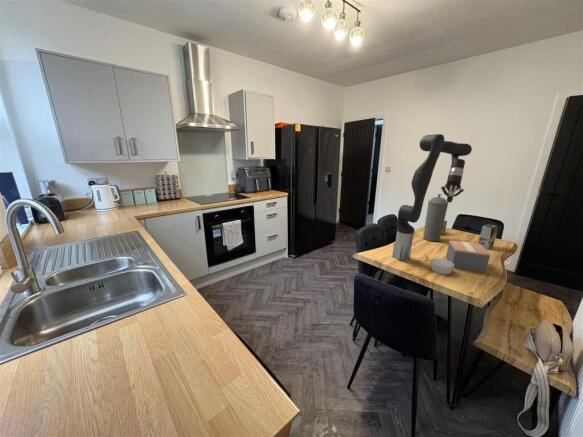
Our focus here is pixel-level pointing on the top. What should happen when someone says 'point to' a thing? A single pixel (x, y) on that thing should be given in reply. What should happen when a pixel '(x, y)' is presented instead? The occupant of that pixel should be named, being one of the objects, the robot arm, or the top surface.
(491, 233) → the coffee box
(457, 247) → the lid
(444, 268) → the ramekin
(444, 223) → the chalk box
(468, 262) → the box
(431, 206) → the canister
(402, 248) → the robot arm
